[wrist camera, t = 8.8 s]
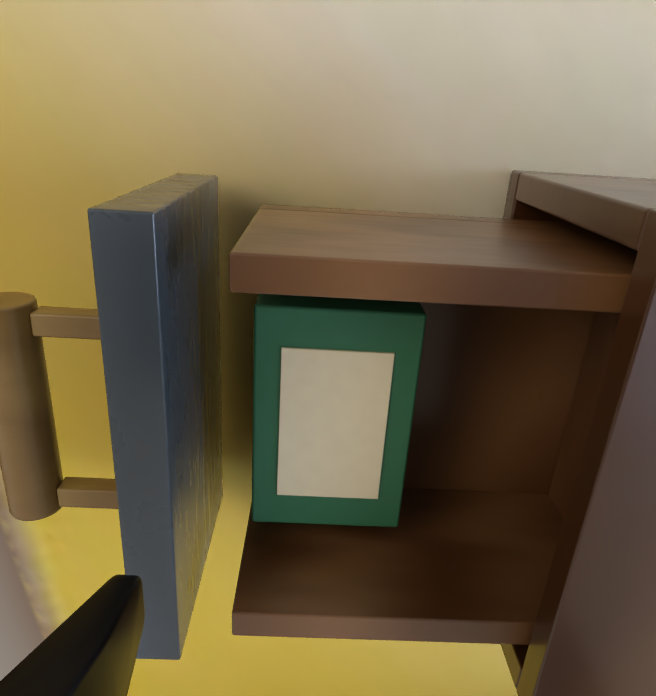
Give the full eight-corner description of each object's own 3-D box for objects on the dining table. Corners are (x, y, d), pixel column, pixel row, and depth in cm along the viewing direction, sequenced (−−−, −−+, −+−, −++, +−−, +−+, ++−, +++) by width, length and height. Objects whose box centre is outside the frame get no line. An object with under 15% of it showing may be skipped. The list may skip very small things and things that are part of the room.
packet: (385, 464, 19) (398, 530, 16) (262, 458, 19) (250, 524, 16) (408, 278, 16) (428, 315, 13) (265, 270, 16) (253, 305, 13)
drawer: (83, 489, 20) (-22, 654, 14) (41, 164, 16) (-139, 195, 10) (549, 508, 21) (646, 675, 15) (629, 200, 17) (816, 250, 10)
